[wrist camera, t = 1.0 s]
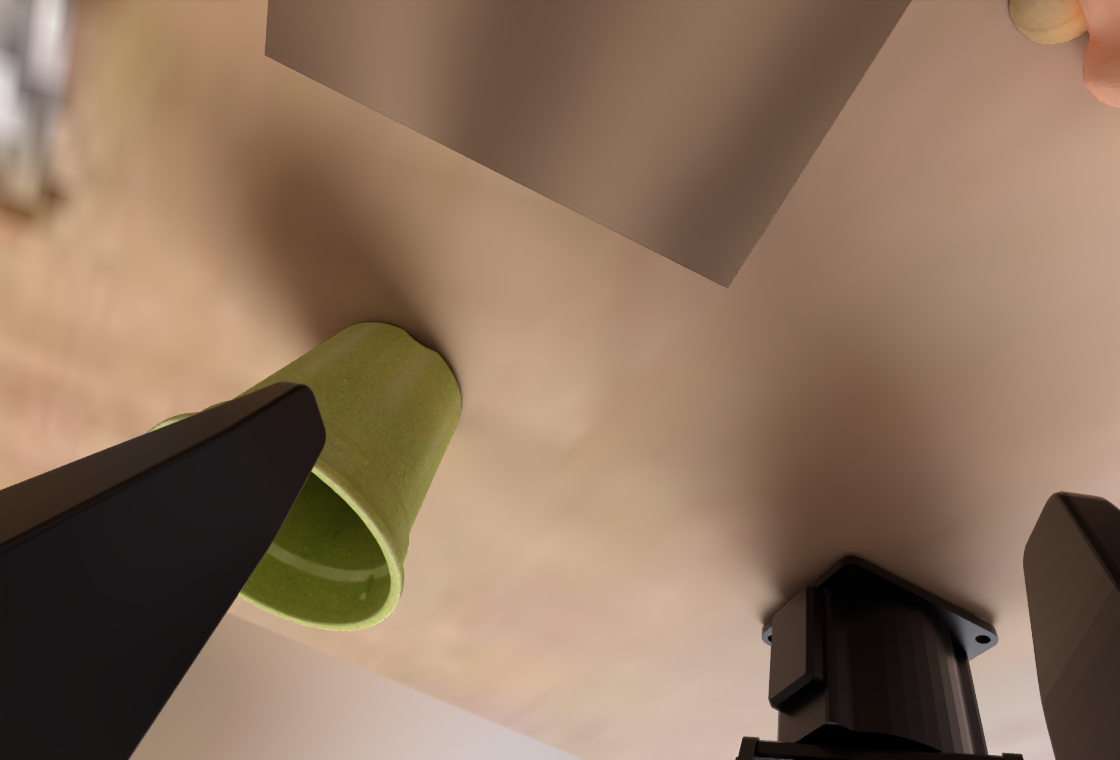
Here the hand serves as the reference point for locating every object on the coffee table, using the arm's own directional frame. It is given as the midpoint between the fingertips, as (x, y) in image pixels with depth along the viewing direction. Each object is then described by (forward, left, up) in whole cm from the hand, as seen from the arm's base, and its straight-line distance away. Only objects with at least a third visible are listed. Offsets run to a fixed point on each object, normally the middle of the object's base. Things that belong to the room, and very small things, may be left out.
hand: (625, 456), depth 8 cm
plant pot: (+7, +14, -14) cm, 21 cm away
